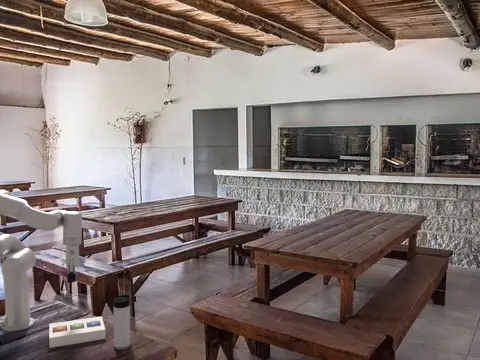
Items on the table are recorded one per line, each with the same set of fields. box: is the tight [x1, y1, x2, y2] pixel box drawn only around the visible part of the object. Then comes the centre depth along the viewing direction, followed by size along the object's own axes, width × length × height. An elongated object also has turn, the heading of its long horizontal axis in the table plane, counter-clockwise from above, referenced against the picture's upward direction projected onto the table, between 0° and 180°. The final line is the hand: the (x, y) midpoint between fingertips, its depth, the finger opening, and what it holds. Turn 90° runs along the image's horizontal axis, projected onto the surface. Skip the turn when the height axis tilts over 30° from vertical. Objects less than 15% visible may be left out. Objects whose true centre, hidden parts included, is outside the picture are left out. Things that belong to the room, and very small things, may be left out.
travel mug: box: [112, 294, 131, 351], centre depth 172 cm, size 6×7×20 cm
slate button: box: [88, 321, 99, 327], centre depth 184 cm, size 5×5×4 cm
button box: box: [48, 316, 107, 349], centre depth 181 cm, size 21×14×4 cm, turn 113°
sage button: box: [71, 323, 83, 330], centre depth 181 cm, size 5×5×4 cm
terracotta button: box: [54, 326, 66, 333], centre depth 178 cm, size 5×5×4 cm
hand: (71, 281), depth 190 cm, fingers closed
